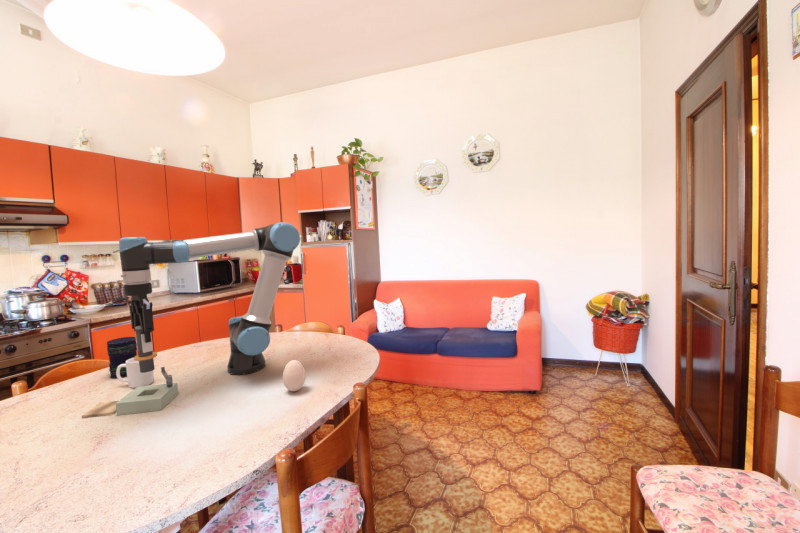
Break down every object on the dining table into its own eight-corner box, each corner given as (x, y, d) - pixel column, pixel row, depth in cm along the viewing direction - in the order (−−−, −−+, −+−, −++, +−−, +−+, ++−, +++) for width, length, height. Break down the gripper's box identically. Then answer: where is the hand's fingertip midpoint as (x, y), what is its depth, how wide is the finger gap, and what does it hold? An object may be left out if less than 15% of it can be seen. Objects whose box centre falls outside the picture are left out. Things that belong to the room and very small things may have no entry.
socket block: (178, 393, 127) (177, 382, 127) (161, 410, 115) (160, 398, 114) (138, 397, 125) (137, 386, 125) (116, 415, 112) (115, 403, 112)
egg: (310, 389, 127) (308, 359, 126) (290, 397, 121) (288, 366, 120) (299, 384, 132) (297, 355, 131) (279, 391, 126) (277, 361, 125)
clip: (173, 385, 123) (172, 375, 123) (167, 387, 122) (166, 376, 122) (166, 376, 133) (165, 366, 132) (160, 377, 132) (159, 367, 131)
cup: (149, 386, 135) (147, 361, 134) (112, 391, 131) (109, 365, 130) (157, 378, 142) (155, 354, 142) (122, 382, 139) (120, 358, 138)
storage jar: (104, 377, 146) (101, 342, 144) (130, 368, 155) (126, 335, 153) (119, 380, 142) (115, 344, 141) (144, 371, 151) (141, 337, 150)
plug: (162, 365, 123) (157, 323, 121) (153, 372, 116) (148, 327, 115) (142, 368, 122) (137, 324, 120) (131, 375, 115) (126, 329, 114)
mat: (129, 401, 122) (129, 399, 122) (113, 414, 113) (113, 412, 113) (99, 404, 120) (99, 402, 120) (81, 418, 111) (81, 415, 111)
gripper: (114, 283, 118) (122, 350, 120) (134, 285, 108) (142, 358, 111) (140, 280, 124) (147, 343, 126) (161, 282, 115) (168, 351, 117)
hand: (145, 350), depth 118 cm, fingers closed on plug, 4 cm apart
